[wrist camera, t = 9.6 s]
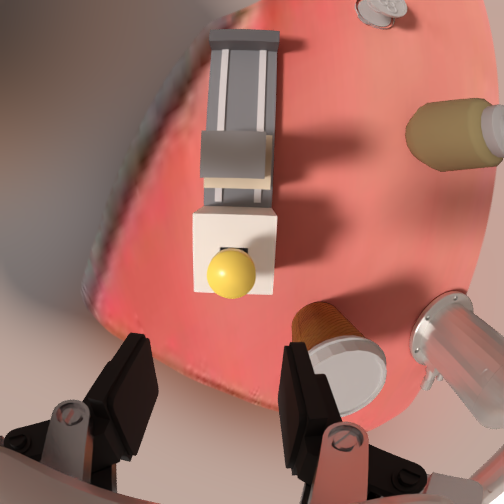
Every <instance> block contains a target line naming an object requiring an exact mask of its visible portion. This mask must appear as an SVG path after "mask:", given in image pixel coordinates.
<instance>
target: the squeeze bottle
mask: <svg viewBox="0 0 504 504" xmlns="http://www.w3.org/2000/svg"><path fill="white" fill-rule="evenodd" d="M405 137H406V142H407V146H408V147H409V149H410V151H411V153H412V154H413V155H414V156H415V157H416V158H417V159H418V160H420V161H421V162H423V163H425V164H426V165H428V166H429V167H431V168H433V169H436V170H438V171H440V172H445V171H454V170H463V169H473V168H484V167H494V166H498V165H499V164H500V163H501V162H502V160H503V158H504V106H503V105H492V104H490V103H489V102H487V101H486V100H485V99H480V98H470V99H458V100H449V101H440V102H432V103H427V104H425V105H423V106H422V107H420V108H419V109H418V110H417V112H416V113H415V114H414V115H413V117H412V118H411V119H410V121H409V123H408V124H407V126H406V133H405Z"/></svg>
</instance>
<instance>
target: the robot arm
mask: <svg viewBox="0 0 504 504" xmlns="http://www.w3.org/2000/svg"><path fill="white" fill-rule="evenodd" d="M409 347H410V352H411V355H412V357H413V358H414V359H415V360H416V361H417V362H418V363H419V364H422V365H426V366H427V367H426V375H425V376H424V378H423V381H422V383H421V385H420V387H421V388H422V389H423V390H429V389H430V388H431V386H432V384H433V382H434V378H435V376H436V379H437V380H438V381H442V380H443V378H444V379H445V380H446V382H447V383H448V384H449V385H450V386H451V388H452V389H453V390H454V391H455V392H456V394H457V395H458V396H459V398H460V399H461V400H462V401H463V403H464V404H465V405H466V407H467V408H468V409H469V410H470V412H471V413H472V414H473V416H474V417H475V418H476V420H477V421H478V422H479V423H480V424H481V425H482V426H484V427H486V428H490V429H500V428H504V337H503V336H502V335H501V334H500V333H498V332H497V331H495V329H493V328H492V327H491V326H489V325H488V324H487V323H485V322H484V321H483V320H482V319H480V318H479V317H478V316H476V315H475V314H474V313H473V305H472V302H471V300H470V299H469V297H467V295H465V294H464V293H462V292H459V291H450V292H446V293H444V294H442V295H440V296H439V297H437V298H436V299H434V300H433V301H432V302H431V303H430V304H429V305H428V306H427V307H426V308H425V309H424V311H423V312H422V313H421V315H420V316H419V318H418V319H417V321H416V323H415V325H414V327H413V330H412V333H411V337H410V345H409ZM157 396H158V383H157V378H156V373H155V368H154V363H153V357H152V351H151V345H150V340H149V339H148V338H146V337H145V335H144V334H138V333H130V334H129V335H128V336H127V338H126V339H125V341H124V342H123V344H122V345H121V347H120V349H119V350H118V351H117V353H116V354H115V356H114V357H113V359H112V360H111V361H109V362H108V363H107V364H106V366H105V367H104V369H103V370H102V372H101V374H100V375H99V376H98V378H97V380H96V381H95V383H94V384H93V386H92V387H91V389H90V390H89V392H88V393H87V395H86V397H85V398H84V400H83V401H82V402H81V401H79V400H67V401H63V402H61V403H59V404H58V405H57V406H56V407H55V408H54V410H53V413H52V416H51V420H48V421H44V422H40V423H36V424H33V425H29V426H25V427H21V428H17V429H14V430H12V431H10V432H9V433H8V434H7V435H6V437H5V438H4V437H3V436H0V504H159V503H154V502H149V501H145V500H141V499H137V498H133V497H129V496H125V495H122V494H118V493H117V480H116V479H117V477H116V463H118V462H120V459H121V460H125V461H129V462H130V461H131V458H132V455H135V456H136V455H137V453H138V450H139V447H140V444H141V441H142V438H143V435H144V433H145V430H146V427H147V424H148V421H149V419H150V416H151V413H152V410H153V407H154V405H155V402H156V399H157ZM278 406H279V415H280V423H281V431H282V439H283V447H284V456H285V465H286V468H291V470H292V475H297V476H298V478H299V479H300V480H302V481H303V482H305V483H304V488H303V492H302V496H301V500H300V504H504V445H503V446H502V447H501V448H500V449H499V450H498V451H497V452H496V453H495V454H494V455H493V456H492V457H491V458H490V459H489V460H488V461H487V462H486V463H485V464H484V465H483V466H482V467H481V468H480V469H479V470H477V471H476V472H475V473H474V474H473V475H472V476H471V477H470V478H469V479H463V478H458V477H453V476H447V475H443V474H438V473H432V474H431V475H429V474H426V472H425V470H424V469H423V468H422V467H421V466H420V465H418V464H416V463H414V462H411V461H408V460H406V459H403V458H401V457H398V456H396V455H393V454H391V453H388V452H386V451H383V450H381V449H379V448H377V447H374V446H372V445H370V444H368V443H369V439H368V435H367V433H366V431H365V430H364V429H363V428H362V427H361V426H359V425H357V424H355V423H351V422H342V419H341V416H340V413H339V410H338V408H337V405H336V402H335V399H334V396H333V393H332V390H331V388H330V385H329V382H328V379H327V377H326V375H325V374H315V373H314V369H313V366H312V363H311V360H310V357H309V354H308V350H307V347H306V344H305V342H290V344H289V346H284V353H283V361H282V369H281V377H280V385H279V392H278Z"/></svg>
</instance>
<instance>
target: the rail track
mask: <svg viewBox="0 0 504 504" xmlns="http://www.w3.org/2000/svg"><path fill="white" fill-rule="evenodd" d="M279 33H280V31H271V30H250V29H219V30H210V35H209V43H210V46H211V49H212V54H211V65H210V78H209V92H208V107H207V125H206V131H260V132H266V135H272V160H271V184H270V190H265V189H238V188H204V206H231V207H261V208H272V189H273V166H274V140H275V112H276V76H277V50H278V46H279ZM227 248H228V247H221V250H223V249H227ZM243 251H244V252H246V253H247V254H248V248H243Z"/></svg>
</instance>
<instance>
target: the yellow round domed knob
mask: <svg viewBox="0 0 504 504" xmlns="http://www.w3.org/2000/svg"><path fill="white" fill-rule="evenodd" d="M255 280H256V269H255V264H254V262H253V260H252V258H251V257H250V256H249V255H248V254H247V253H246V252H244V251H243V248H232V247H228V248H227V249H223V250H221V251H219V252H218V253H217V254H215V255H214V257H213V258H212V260H211V262H210V264H209V266H208V269H207V281H208V284H209V286H210V287H211V289H212V290H213V291H214V292H215V293H216V294H218V295H219V296H222V297H224V298H230V299H234V298H239V297H242V296H244V295H246V294H247V293H248V292H249V291H250V290H251V289H252V288H253V286H254V284H255Z"/></svg>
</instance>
